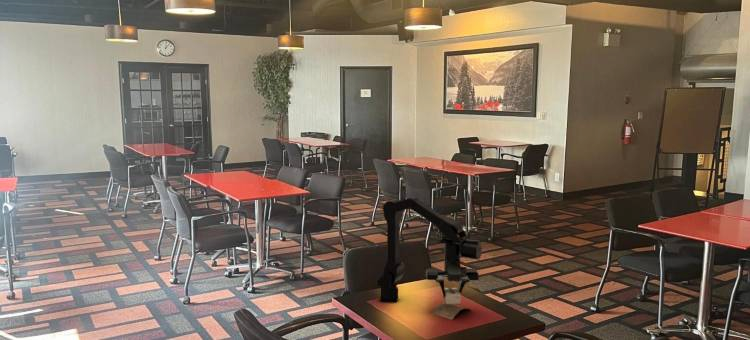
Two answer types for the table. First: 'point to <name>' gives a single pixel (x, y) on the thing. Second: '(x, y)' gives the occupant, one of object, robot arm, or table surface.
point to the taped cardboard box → (452, 295)
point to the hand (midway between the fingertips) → (451, 296)
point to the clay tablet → (447, 310)
